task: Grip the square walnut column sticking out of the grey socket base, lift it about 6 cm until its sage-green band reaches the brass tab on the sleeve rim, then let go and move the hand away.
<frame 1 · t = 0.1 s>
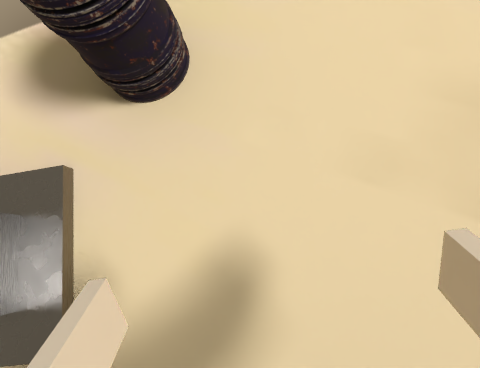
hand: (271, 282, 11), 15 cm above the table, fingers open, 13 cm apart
storage jar: (148, 64, 33), on the table
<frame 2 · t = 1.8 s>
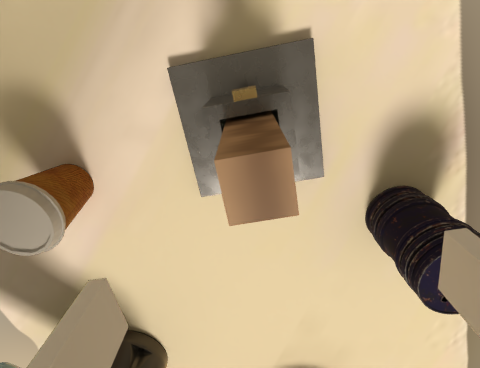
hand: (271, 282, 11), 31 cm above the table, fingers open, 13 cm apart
disposable coffee cup: (73, 183, 44), on the table
grey socket base: (250, 123, 40), on the table
column: (253, 148, 29), point 12 cm above the table, slide at 0.0 cm
storage jar: (396, 213, 45), on the table
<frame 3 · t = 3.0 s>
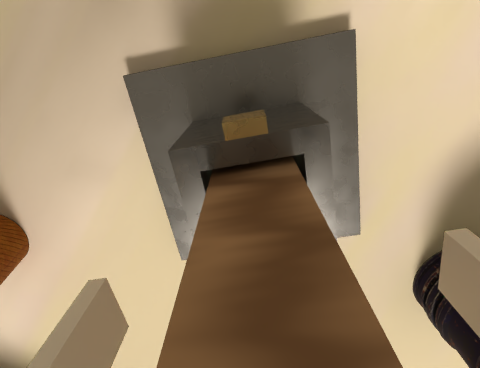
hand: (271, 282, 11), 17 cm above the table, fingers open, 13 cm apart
disposable coffee cup: (0, 237, 31), on the table
grey socket base: (253, 158, 27), on the table
column: (261, 226, 16), point 12 cm above the table, slide at 0.0 cm
storage jar: (456, 278, 32), on the table
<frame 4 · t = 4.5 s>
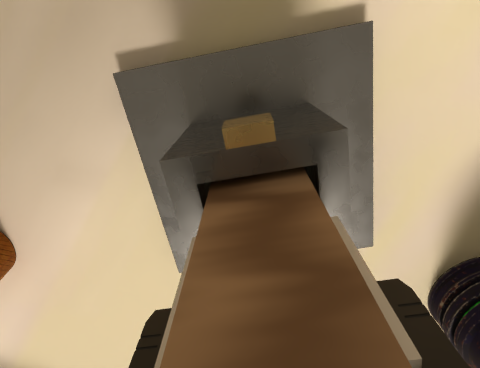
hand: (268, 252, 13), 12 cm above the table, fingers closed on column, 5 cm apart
grey socket base: (257, 163, 24), on the table
column: (267, 248, 13), point 12 cm above the table, slide at 0.0 cm, touching gripper
storage jar: (474, 292, 30), on the table
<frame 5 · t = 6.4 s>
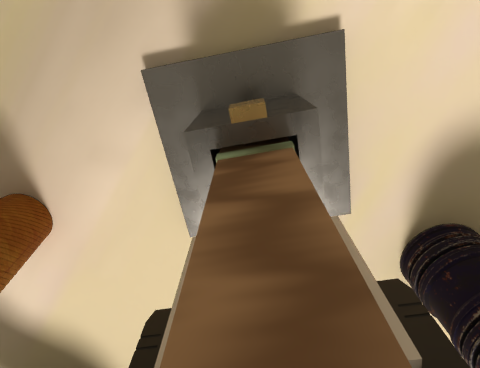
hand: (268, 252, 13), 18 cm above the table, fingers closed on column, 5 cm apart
disposable coffee cup: (26, 216, 34), on the table
grey socket base: (255, 144, 30), on the table
column: (267, 248, 13), point 18 cm above the table, slide at 5.9 cm, touching gripper
storage jar: (439, 256, 35), on the table
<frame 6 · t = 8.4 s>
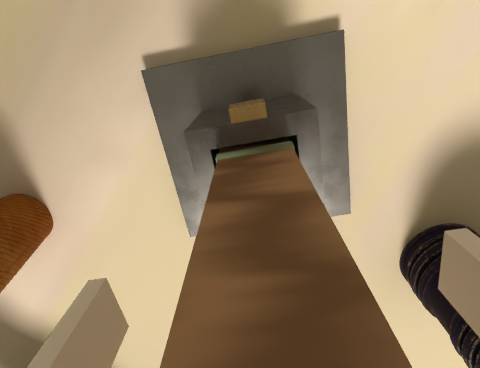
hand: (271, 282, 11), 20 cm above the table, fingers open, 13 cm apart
disposable coffee cup: (27, 216, 34), on the table
grey socket base: (255, 144, 30), on the table
column: (267, 248, 13), point 18 cm above the table, slide at 6.0 cm
storage jar: (439, 256, 35), on the table
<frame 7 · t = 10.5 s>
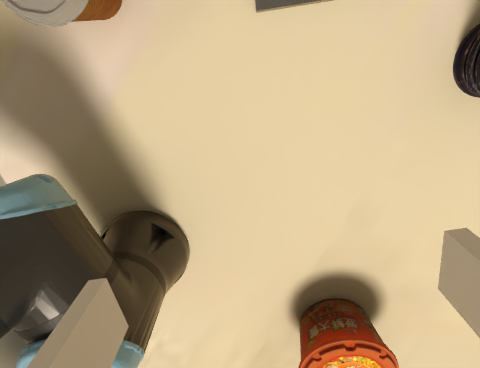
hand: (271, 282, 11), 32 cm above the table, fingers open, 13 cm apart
food container: (332, 321, 56), on the table
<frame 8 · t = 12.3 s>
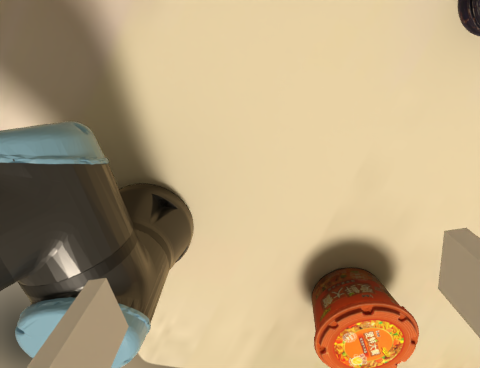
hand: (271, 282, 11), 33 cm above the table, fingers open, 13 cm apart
food container: (345, 293, 54), on the table
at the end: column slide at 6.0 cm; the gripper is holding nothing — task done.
